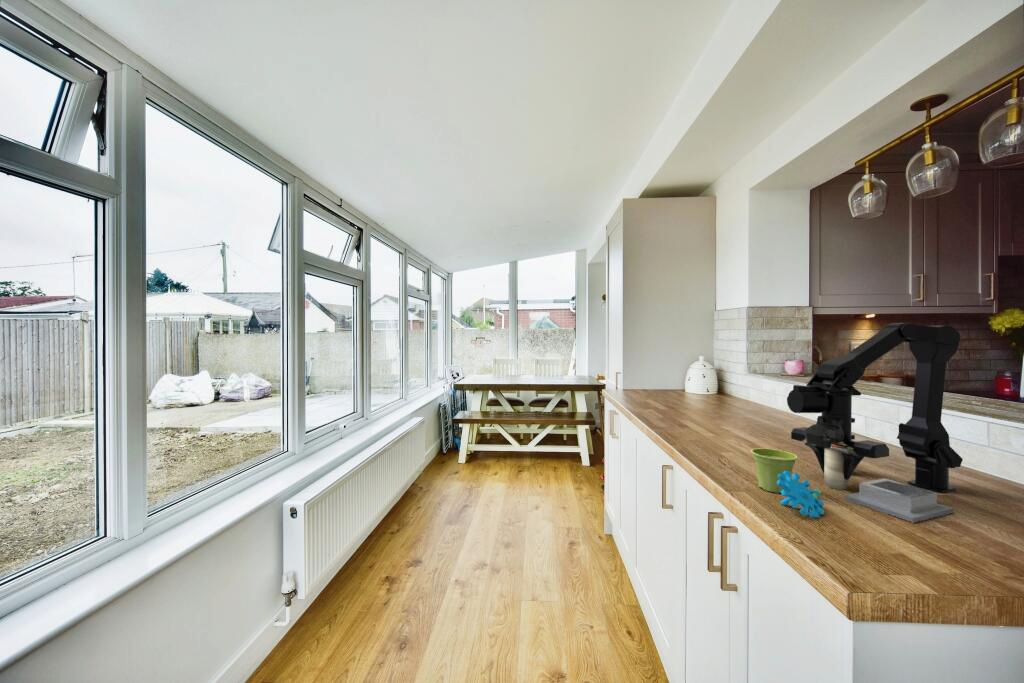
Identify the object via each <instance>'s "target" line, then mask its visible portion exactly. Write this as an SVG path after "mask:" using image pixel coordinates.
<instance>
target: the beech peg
mask: <svg viewBox="0 0 1024 683" xmlns="http://www.w3.org/2000/svg"><path fill="white" fill-rule="evenodd" d="M842 452H847V451H846V450H843V449H838V448H825V451H824V473H823V474H824V475H823V477H824V478H823V485H824V484H825V485H826V487H827V486H828V487H827V488H829V487H831V488H830V489H833V488H834V489H835V490H838V489H840V491H847V489H848V480H845V479H844V457H843V455H842V454H841V453H842ZM825 485H824V486H825ZM834 489H833V490H834Z"/></svg>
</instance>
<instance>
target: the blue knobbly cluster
mask: <svg viewBox="0 0 1024 683" xmlns="http://www.w3.org/2000/svg"><path fill="white" fill-rule="evenodd" d="M777 476H778V478H779V479H780V480H778V481H777V485H778V486H780V487H782V488H784V489H783V490H781V492H780V493H781V494H780V495H781V496H782V497H784V499H783V500H781V501H780V504H781V505H782V506H783V505H784V506H786V505H788V504H789V505H790V506H791V507H792V508H793V509H795V508H797V507H798V506H801V508H800V509H799V513H800V514H802V515H803V516H805V517H806V516H808V515H809V516H810V517H811V518H812V519H817V518H819V517H820V516H822V515H823V514H824V513H825V511H824V509H823V507H825V503H824V501H823V500H820V499H818V497H820V494H821V493H822V491H821V490H820V489H819V488H815V489H814V490H812V489H809V487H811V486H812V484H811V483H810V482H809V481H808V479H807V480H803V481H802V482H801V481H799V479H801V475H799V474H798V473H796V472H795V473H792V475H791V472H789V471H784V472H783V473H780V474H779V475H777ZM784 506H783V507H784Z"/></svg>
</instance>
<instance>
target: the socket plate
mask: <svg viewBox="0 0 1024 683" xmlns="http://www.w3.org/2000/svg"><path fill="white" fill-rule="evenodd" d="M843 498H844V499H845V500H844V501H847V500H848V501H847V502H850V501H851V502H850V503H853V502H854V504H856V503H857V505H858V504H860V505H859V506H861V505H863V506H862V507H864V506H867V507H870V508H873V509H875V510H874V511H876V510H878V511H877V512H879V511H881V512H880V513H882V512H883V513H882V514H885V513H886V514H885V515H888V514H890V515H892V516H891V517H893V516H896V517H899V518H902V519H905V520H908V521H911V522H916V521H920V520H923V521H925V520H924V519H927V520H930V519H929V518H931V519H934V517H935V518H939V517H942V516H946V514H947V515H951V514H953V513H954V508H953V507H950V506H947V505H943V504H940V503H938V502H937V507H934V508H930V509H926V510H922V511H918V512H913V513H909V512H906V511H903V510H900V509H897V508H894V507H891V506H887V505H884V504H881V503H878V502H875V501H872V500H869V499H866V498H863V497H860V496H859V491H858V492H853V493H849V494H844V497H843ZM867 507H866V508H867ZM870 508H869V509H870ZM873 509H872V510H873ZM950 513H951V514H950ZM890 515H889V516H890ZM896 517H895V518H896ZM899 518H898V519H899ZM902 519H901V520H902ZM905 520H904V521H905ZM908 521H907V522H908ZM911 522H910V523H911ZM920 522H921V521H920ZM916 523H917V522H916Z"/></svg>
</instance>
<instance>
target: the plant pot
mask: <svg viewBox="0 0 1024 683" xmlns="http://www.w3.org/2000/svg"><path fill="white" fill-rule="evenodd" d="M750 452H751V454H752V455H753V456H752V458H753V459H754V463H755V470H756V477H757V478H756V479H757V482H758V484H757V485H758V487H759V488H762V490H764V491H767V492H772V493H774V492H775V494H780V493H781V490H783V489H784V488H782V487H780V486H778V485H777V481H778V480H780V479H779V478H778V476H777V475H779V474H780V473H783V472H784V471H789V472H791V476H792V475H793V468H794V465H795V463H796V461H797V460H798V456H797V454H795V453H792V452H789V451H784V450H780V449H775V448H765V447H760V448H759V447H758V448H757V447H756V448H751V450H750Z"/></svg>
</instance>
